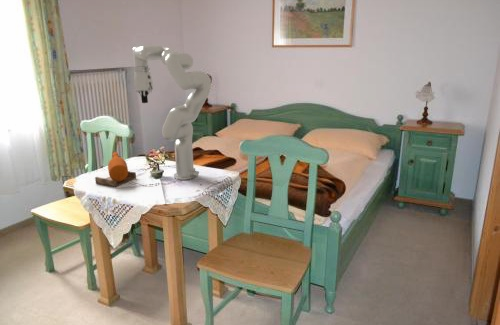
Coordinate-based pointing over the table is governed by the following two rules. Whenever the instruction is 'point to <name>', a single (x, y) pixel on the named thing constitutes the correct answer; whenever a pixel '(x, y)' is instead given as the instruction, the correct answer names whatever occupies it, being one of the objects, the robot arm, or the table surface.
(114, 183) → the u rest
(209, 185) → the table surface
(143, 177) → the table surface
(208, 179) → the table surface
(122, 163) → the wine bottle
